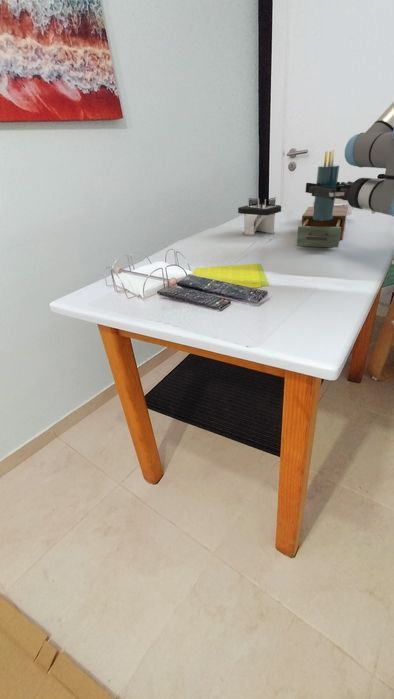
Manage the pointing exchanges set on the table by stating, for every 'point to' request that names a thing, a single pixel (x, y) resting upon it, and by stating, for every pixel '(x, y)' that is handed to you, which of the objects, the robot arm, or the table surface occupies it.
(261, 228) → the black-topped pedestal
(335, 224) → the drawer
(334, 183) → the straw cup
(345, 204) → the paper bowls
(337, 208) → the cabinet
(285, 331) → the table surface
